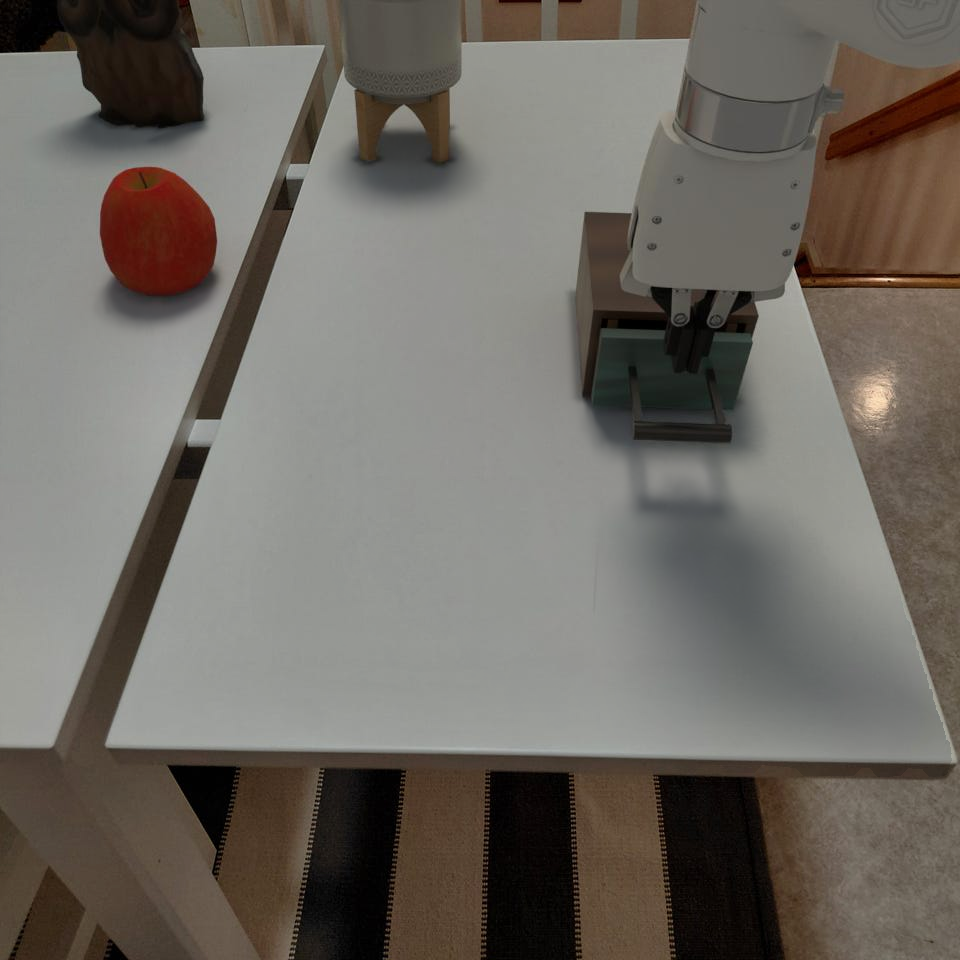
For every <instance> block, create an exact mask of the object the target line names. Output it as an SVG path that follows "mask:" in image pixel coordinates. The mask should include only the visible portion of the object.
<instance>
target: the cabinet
mask: <svg viewBox="0 0 960 960" xmlns="http://www.w3.org/2000/svg"><path fill="white" fill-rule="evenodd" d="M631 214H632V212H609V211H607V212H606V211H605V212H603V211H584V214H583V223H582V224H583V225H582V231H581V232H582V233H581V241H580V251H579V260H578V266H577V267H578V268H577V277H576V285H575V286H576V287H575V307H576V309H575V310H576V322H577V323H576V324H577V338H578V353H579V368H580V369H579V370H580V383H581V384H580V385H581V395H582V396H586V397H587V396H590V397H591V393H592V386H593V379H594V372H595V365H596V357H597V350H598V343H599V336H600V329H601V325H602V318H603V319H631V320H659V321H668V318H669V316H668V314H667V313H666V312H665V311H664V310H663V309H662V308H661V307H660V306H659V305H658V304H657V303H656V302H655V301H654V300H653V298H652V297H648V296H647V297H644V296H640V295H636V294H633V293H629V292H625V291H623V290H622V288H621V282H620V273H621V271H622V269H623V267H624V264H625V262H626V260H627V258H628V256H629V254H630V251H631V250H628V230H629V224H630V219H631ZM704 290H705V289H691V304H690V305H691V306H694V304H695V302H699V301H700V300H702V294H703V292H704ZM759 317H760V315H759V312H758V308H757V306H756V302H754V301H750V302H749V303H748V304H747V305H745V306H743V307H742V308H740V309H739V310H737V311H735V312H734V313H732V314H731V315H729V316H728V317H727V318H726V321H725V323H737V324H738V325H737V329H736V332H735V333H750V334H751V338H752V339H753V338H754V337H753V336H754V333H755V329H756V327H757V323H758V320H759Z"/></svg>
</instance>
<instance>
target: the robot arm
mask: <svg viewBox="0 0 960 960" xmlns="http://www.w3.org/2000/svg"><path fill="white" fill-rule="evenodd" d="M836 41H837V42H839V43H841V44H843V45H845V46H848V47H850V48H853V49H855V50H856V51H859V52H861V53H863V54H866V55H867V56H870V57H873V58H874V59H876V60H880V61H882V62H885V63H889V64H892V65H895V66H899V67H904V68H910V69H911V68H913V69H932V68H933V69H934V68H939V67H944V66H949V65H952V64H955V63H957V62H959V61H960V0H696V3H695V9H694V15H693V19H692V26H691V30H690V36H689V40H688V45H687V46H688V47H687V51H686V57H685V62H684V67H683V71H682V78H681V82H680V88H679V91H678V98H677V104H676V108H675V109H672V110H667V111H665V112H664V113H663V114H662V115H661V116H660V118H659V120H658V122H657V124H656V127H655V130H654V131H653V135H652V137H651V140H650V144H649V146H648V149H647V153H646V156H645V158H644V159H645V160H644V163H643V166H642V169H641V173H640V178H639V181H638V185H637V189H636V193H635V197H634V201H633V205H632V210H631V213H632V214H631V219H630V224H629V230H628V250H631V251H630V254H629V256H628V258H627V260H626V262H625V264H624V267H623V269H622V271H621V273H620V282H621V288H622V290H623V291H625V292H629V293H633V294H636V295H640V296H644V297H647V296H648V297H652V298H653V300H654V301H655V302H656V303H657V304H658V305H659V306H660V307H661V308H662V309H663V310H664V311H665V312H666V313H667V314H668V316H669V318H668V322H667V327H666V331H665V336H664V341H663V350H664V355H670V356H671V361H672V366H673V372H674V373H682V372H684V371H685V368H686V372H689V374H697V372H698V369H699V365H700V361H701V357H708V356H709V353H710V349H711V345H712V342H713V338H714V334H715V330H716V328H719V327H721V326H722V325H723V324H724V323H725V321H726V318H727V317H728V316H729V315H731V314H732V313H734V312H735V311H737V310H739V309H740V308H742V307H743V306H745V305H747V304H748V303H749V302H750V301H754V302H755V303H756V302H763V301H769V300H776V299H780V298H781V297H783V296H784V294H785V292H786V282H787V281H788V280H789V278H790V275H791V274H792V271H793V268H794V265H795V262H796V259H797V256H798V252H799V249H800V245H801V242H802V241H801V240H802V237H803V233H804V228H805V225H806V219H807V214H808V210H809V203H810V198H811V192H812V186H813V180H814V172H815V163H816V153H817V136H816V132H815V129H814V128H815V124H816V123H817V122H818V120H819V119H820V117H821V118H823V117H825V116H826V115H836V116H837V115H839V114H840V113H841V111H842V108H843V104H844V99H845V94H844V92H845V91H844V90H843V89H842V88H832V87H831V86H829V85H825V83H824V81H825V77H826V74H827V71H828V68H829V65H830V62H831V58H832V55H833V51H834V47H835V45H836ZM691 289H705V290H704V292H703V294H702V300H700V301H699V302H695V304H694V306H691V305H690V304H691Z"/></svg>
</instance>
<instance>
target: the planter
mask: <svg viewBox="0 0 960 960" xmlns="http://www.w3.org/2000/svg"><path fill="white" fill-rule="evenodd" d="M337 7H338V8H337V9H338V19H339V29H340V40H341V41H340V43H341V52H342V63H343V73H344V75H343V76H344V78H345V80H346V82H347V83H348V84H349V85H350V86H351V87H353V88H354V91H353V92H354V104H355V116H356V126H357V128H356V129H357V140H358V153H359V159H361V160H362V161H364V162H366V163H371V162H373V161H376V160H377V157H378V156H377V155H378V153H377V152H378V151H377V150H378V145H379V139H380V137H381V135H382V131H383V129H384V127H385V125H386V124H387V122H388V120H389V119H390V118H391V116H392V115H393V114H394V113H395V112H396V111H397V110H399V108H401V107H403V106H405V107H407V108H408V110H410V111H411V112H412V113H413V114H414V115H415V116H416V117H417V119H418V120H419V122H420V123H421V125H422V127H423V129H424V131H425V134H426V137H427V139H428V142H429V145H430V150H431V155H432V156H431V157H432V158H431V159H432V160H433V161H434V162H436V163H439V164H442V163H444V162H446V161H449V160H450V128H451V107H450V106H451V99H450V98H451V88H452V87H454V86H455V85H457V83H458V82H459V81H460V80H461V77H462V70H463V68H462V67H463V65H462V64H463V63H462V61H463V59H462V58H463V55H462V54H463V52H462V51H463V50H462V49H463V48H462V47H463V37H462V35H463V34H462V33H463V27H462V26H463V0H337Z"/></svg>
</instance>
